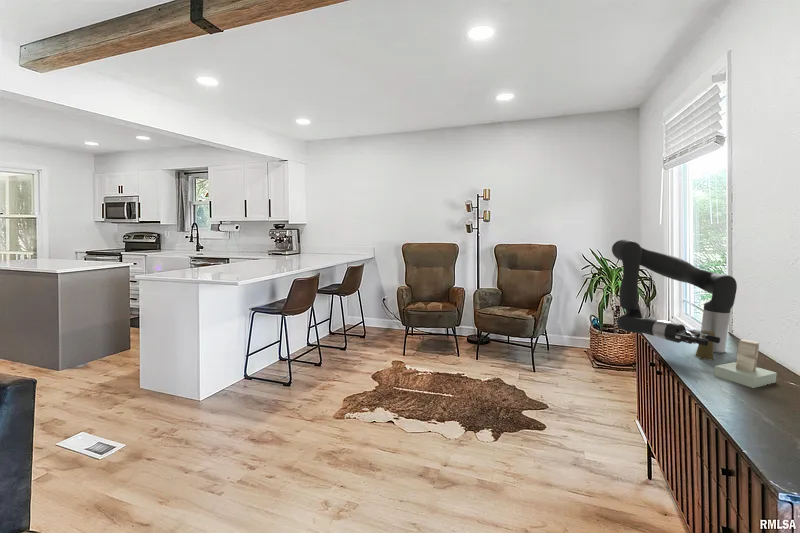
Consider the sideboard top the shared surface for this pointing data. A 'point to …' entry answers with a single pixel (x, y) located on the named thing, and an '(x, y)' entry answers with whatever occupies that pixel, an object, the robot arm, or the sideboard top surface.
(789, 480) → the sideboard top surface
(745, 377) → the sage block
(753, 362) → the maple block
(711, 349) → the brown rounded piece
